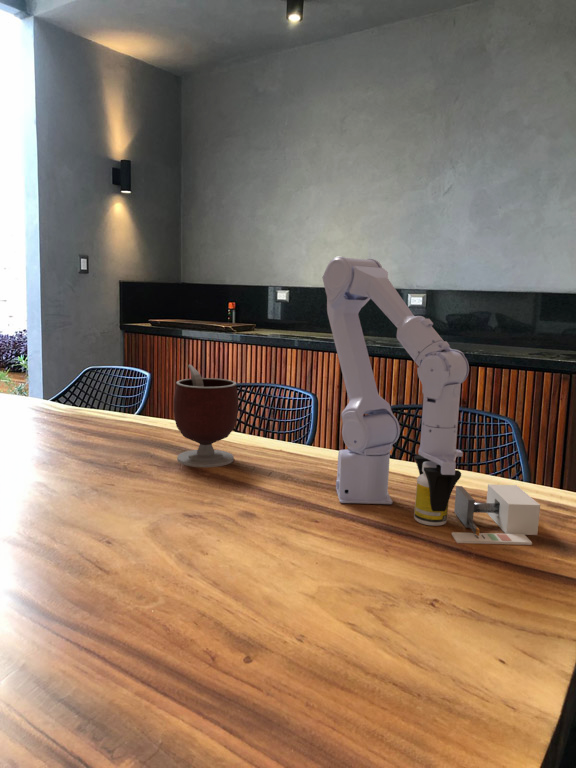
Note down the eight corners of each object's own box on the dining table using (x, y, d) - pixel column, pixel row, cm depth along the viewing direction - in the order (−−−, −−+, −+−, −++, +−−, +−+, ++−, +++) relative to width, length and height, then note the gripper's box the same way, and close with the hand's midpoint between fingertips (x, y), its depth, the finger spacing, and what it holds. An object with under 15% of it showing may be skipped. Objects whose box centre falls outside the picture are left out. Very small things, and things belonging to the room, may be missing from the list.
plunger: (474, 538, 96) (477, 509, 95) (454, 512, 107) (456, 486, 106) (526, 540, 96) (528, 511, 95) (500, 513, 107) (502, 487, 106)
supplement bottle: (447, 528, 100) (452, 470, 99) (413, 524, 101) (418, 467, 100) (446, 516, 105) (450, 461, 104) (413, 513, 106) (417, 458, 105)
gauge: (457, 542, 94) (459, 511, 94) (434, 510, 108) (436, 482, 108) (548, 545, 95) (551, 514, 94) (513, 512, 109) (516, 485, 108)
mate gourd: (248, 463, 134) (251, 371, 131) (190, 472, 126) (191, 375, 123) (215, 446, 146) (216, 363, 143) (160, 454, 139) (160, 365, 136)
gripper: (477, 435, 94) (470, 520, 96) (451, 416, 108) (446, 490, 110) (431, 434, 94) (425, 519, 96) (411, 414, 108) (406, 489, 110)
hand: (433, 504), depth 103 cm, fingers closed on supplement bottle, 5 cm apart
